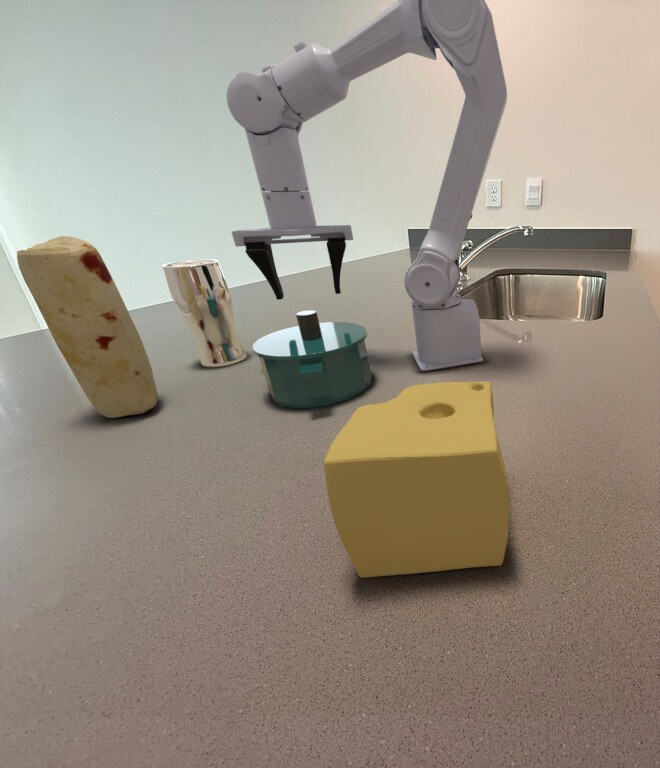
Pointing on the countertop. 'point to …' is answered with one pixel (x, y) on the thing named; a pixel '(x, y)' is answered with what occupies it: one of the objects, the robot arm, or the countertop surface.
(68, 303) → the food model
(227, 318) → the beer glass
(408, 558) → the cheese
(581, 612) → the countertop surface
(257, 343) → the lid
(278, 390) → the pot
